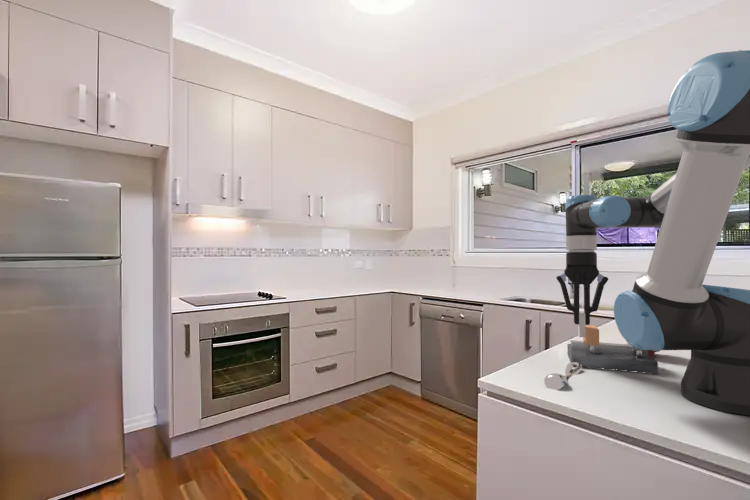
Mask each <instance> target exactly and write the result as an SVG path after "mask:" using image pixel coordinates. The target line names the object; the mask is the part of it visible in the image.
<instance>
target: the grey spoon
mask: <svg viewBox="0 0 750 500" xmlns="http://www.w3.org/2000/svg"><path fill="white" fill-rule="evenodd" d="M572 365H577V366H572ZM573 367H574V369H573ZM582 368H583V367H582V365H581V364H580V363H577V362H572V363H568V364H567V365H566V368H565V369H564V374H565V375H563V374H561V373H556V372H555V373H549V374H547V375H545V377H544V379H543V381H544V385H545V387H546V388H547V389H550V390H555V391H559V390H561V389H562V388H563V387H565V385H566V384H567V383H568V381H569V380H568V379H570V378H571V377H573V376H576V375H577V376H578V374H579V373H581V371H582V370H583V369H582ZM572 369H573V371H572V372H571V370H572Z"/></svg>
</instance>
